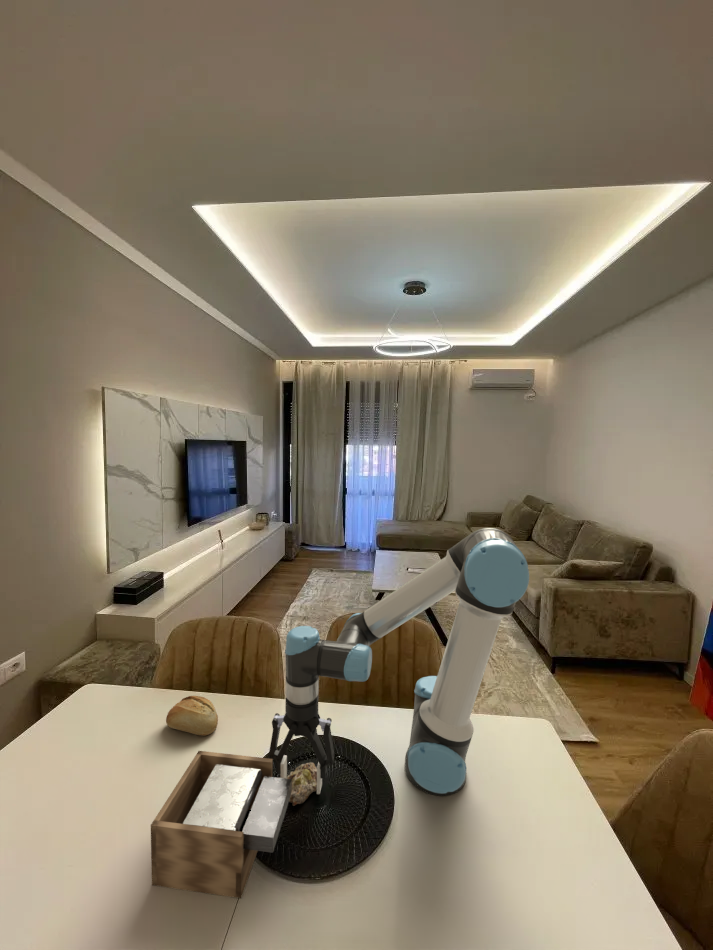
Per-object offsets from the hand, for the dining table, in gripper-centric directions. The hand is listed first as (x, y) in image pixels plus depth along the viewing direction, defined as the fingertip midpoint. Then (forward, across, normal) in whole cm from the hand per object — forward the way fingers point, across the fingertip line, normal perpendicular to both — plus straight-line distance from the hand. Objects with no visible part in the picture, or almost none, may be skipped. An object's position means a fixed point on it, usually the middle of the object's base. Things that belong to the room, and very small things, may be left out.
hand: (301, 787), depth 97 cm
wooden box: (0, +14, +15) cm, 20 cm away
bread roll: (+1, +35, -16) cm, 39 cm away
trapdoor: (-6, +9, +15) cm, 18 cm away
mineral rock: (+1, 0, 0) cm, 1 cm away
